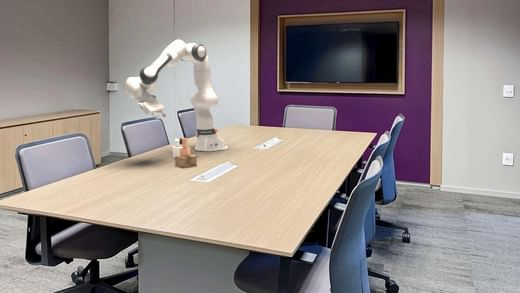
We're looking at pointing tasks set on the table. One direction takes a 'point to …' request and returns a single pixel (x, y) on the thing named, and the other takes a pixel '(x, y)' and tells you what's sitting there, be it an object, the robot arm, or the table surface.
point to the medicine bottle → (177, 147)
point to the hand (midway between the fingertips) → (162, 117)
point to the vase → (185, 148)
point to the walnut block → (185, 161)
